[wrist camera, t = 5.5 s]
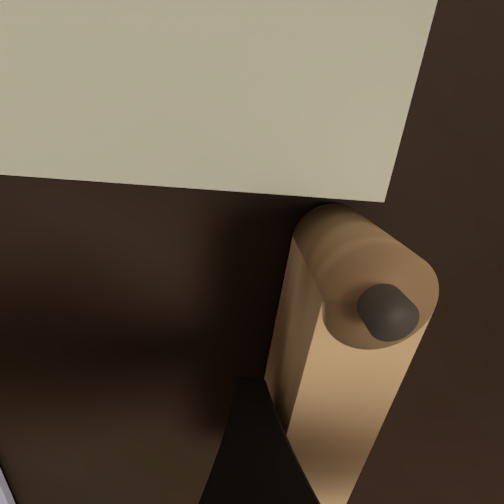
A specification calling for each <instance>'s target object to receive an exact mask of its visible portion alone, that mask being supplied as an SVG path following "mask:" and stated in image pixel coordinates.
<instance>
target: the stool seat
mask: <svg viewBox="0 0 504 504" xmlns="http://www.w3.org/2000/svg"><path fill="white" fill-rule="evenodd" d="M437 1H438V0H0V175H13V176H27V177H41V178H55V179H69V180H83V181H97V182H111V183H125V184H138V185H152V186H166V187H180V188H194V189H208V190H222V191H236V192H249V193H263V194H277V195H291V196H305V197H319V198H333V199H347V200H360V201H374V202H384V201H385V197H386V193H387V190H388V186H389V182H390V178H391V174H392V171H393V167H394V163H395V159H396V156H397V152H398V148H399V144H400V140H401V137H402V133H403V129H404V125H405V122H406V118H407V114H408V110H409V106H410V103H411V99H412V95H413V91H414V88H415V84H416V80H417V76H418V73H419V69H420V65H421V61H422V57H423V54H424V50H425V46H426V42H427V39H428V35H429V31H430V27H431V23H432V20H433V16H434V12H435V8H436V5H437Z"/></svg>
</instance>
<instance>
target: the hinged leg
mask: <svg viewBox="0 0 504 504" xmlns="http://www.w3.org/2000/svg"><path fill="white" fill-rule="evenodd" d="M438 296H439V284H438V280H437V276H436V274H435V272H434V270H433V269H432V267H431V266H430V265H429V264H428V263H427V262H426V261H425V260H423V259H422V258H421V257H419V256H418V255H416V254H415V253H414V252H412V251H411V250H409V249H408V248H407V247H405V246H404V245H402V244H401V243H400V242H398V241H397V240H396V239H394V238H393V237H391V236H390V235H389V234H387V233H386V232H384V231H383V230H382V229H380V228H379V227H377V226H376V225H375V224H373V223H372V222H370V221H369V220H368V219H366V218H365V217H363V216H362V215H361V214H359V213H358V212H357V211H355V210H354V209H352V208H351V207H349V206H346V205H343V204H337V203H330V204H324V205H321V206H318V207H316V208H314V209H312V210H310V211H309V212H308V213H306V214H305V215H304V216H303V217H302V218H301V219H300V221H299V222H298V224H297V225H296V227H295V230H294V232H293V236H292V241H291V246H290V251H289V256H288V261H287V266H286V271H285V276H284V281H283V286H282V291H281V296H280V301H279V306H278V311H277V316H276V321H275V326H274V331H273V336H272V341H271V346H270V351H269V356H268V361H267V366H266V371H265V376H264V380H265V381H266V382H267V386H268V389H269V392H270V395H271V398H272V401H273V404H274V407H275V409H276V412H277V414H278V417H279V419H280V422H281V424H282V426H283V429H284V431H285V433H286V436H287V438H288V440H289V442H290V444H291V447H292V449H293V451H294V453H295V455H296V457H297V459H298V461H299V464H300V466H301V468H302V470H303V472H304V473H305V475H306V477H307V479H308V481H309V483H310V485H311V487H312V489H313V491H314V493H315V495H316V496H317V498H318V500H319V502H320V504H346V503H347V501H348V499H349V497H350V494H351V492H352V490H353V488H354V486H355V483H356V481H357V479H358V477H359V475H360V472H361V470H362V468H363V466H364V464H365V461H366V459H367V457H368V455H369V453H370V450H371V448H372V446H373V444H374V441H375V439H376V437H377V435H378V433H379V430H380V428H381V426H382V424H383V422H384V419H385V417H386V415H387V413H388V411H389V408H390V406H391V404H392V402H393V400H394V397H395V395H396V393H397V391H398V389H399V386H400V384H401V382H402V380H403V378H404V375H405V373H406V371H407V369H408V367H409V364H410V362H411V360H412V358H413V356H414V353H415V351H416V349H417V347H418V345H419V342H420V340H421V338H422V336H423V334H424V331H425V329H426V327H427V325H428V323H429V320H430V318H431V316H432V314H433V312H434V309H435V307H436V304H437V301H438Z"/></svg>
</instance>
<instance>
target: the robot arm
mask: <svg viewBox="0 0 504 504" xmlns="http://www.w3.org/2000/svg"><path fill="white" fill-rule="evenodd" d="M0 504H16V503H15V501H14V499H13V496H12V494H11V492H10V489H9V487H8V485H7V482H6V480H5V478H4V475H3V473H2V471H1V468H0ZM199 504H320V502H319V500H318V498H317V496H316V495H315V493H314V491H313V489H312V487H311V485H310V483H309V481H308V479H307V477H306V475H305V473H304V472H303V470H302V468H301V466H300V464H299V461H298V459H297V457H296V455H295V453H294V451H293V449H292V447H291V444H290V442H289V440H288V438H287V436H286V433H285V431H284V429H283V426H282V424H281V422H280V419H279V417H278V414H277V412H276V409H275V407H274V404H273V401H272V398H271V395H270V392H269V389H268V386H267V382H266V381H265V380H264V379H263V378H246V377H238V378H236V379H235V381H234V389H233V397H232V405H231V410H230V414H229V418H228V422H227V425H226V428H225V432H224V435H223V438H222V442H221V445H220V448H219V451H218V454H217V456H216V459H215V462H214V465H213V467H212V470H211V473H210V476H209V478H208V481H207V484H206V486H205V489H204V491H203V494H202V496H201V499H200V501H199Z"/></svg>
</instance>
